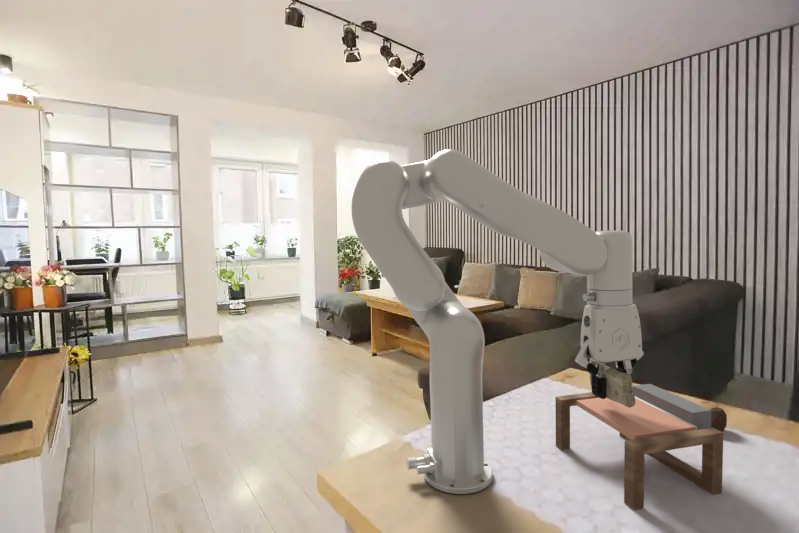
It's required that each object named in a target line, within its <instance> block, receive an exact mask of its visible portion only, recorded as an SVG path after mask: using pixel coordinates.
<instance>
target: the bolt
mask: <svg viewBox="0 0 799 533" xmlns="http://www.w3.org/2000/svg"><path fill="white" fill-rule="evenodd" d="M710 410H711V428H712V427H713V428H715V429H717V430H719V431H721V432H723V433H724V430H725V429H726V428H727V422H728V417H727V412H726V411H725V410H724V409H723V408H721V407H717V406H715V407H712V408H710Z"/></svg>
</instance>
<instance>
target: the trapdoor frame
mask: <svg viewBox="0 0 799 533" xmlns="http://www.w3.org/2000/svg"><path fill="white" fill-rule="evenodd" d="M592 398H599V397H597V396H595V395H593V394H592V391H591V392H582V393H574V394H566V395H559V396H558V395H557V396H555V447H556V448H558V449H559V450H560V451H567V450H571V407H575V406H577V405H576V400H584V399H592ZM621 437H622V438H621ZM619 438H621V439H623V440H624V455H623V456H624V457H623V458H624V459H623V460H624V464H623V466H624V470H623V471H624V472H623V473H624V474H623V475H624V476H623V478H624V479H623V482H624V485H623V490H624V491H623V494H624V495H623V503H624V504H625V505H626V506H627V507H628V508H629V509H631V510H632V511H637V510H642V509H644V508H645V455H648V456H650V457H652V458H653V459H655V461H658V462H659V463H661V464H662V465H664V466H665V467H667V468H668V469H670V470H671V471H673V472H675V473H677V474H678V475H679V476H681V477H683V478H684V479H686V480H688V482H691V483H692V482H693V483H692V484H694V485H695V486H696V487H698V488H700V489H702V490H704V491H705V492H706V491H707V493H708V492H709V493H710V494H709V493H708V494H709V495H711V494H712V495H711V496H714V495H713V494H715V495H719V494H720V493H721V494H723V470H724V469H723V463H724V459H723V458H724V431H723V432H721V431H719V430H717V429H715V428H713V427H712V428H706V429H699V430H693V431H686V432H680V433H673V434H667V435H660V436H654V437H647V438H640V439H634V440H631V439H630V438H628V437H627V436H625V435H623V434H622V433H620V432H619ZM697 446H701V447H702V448H701V449H702V450H701V451H702V452H701V453H702V454H701V471H700V470H698V469H697V468H695V467H694V466H691V465H690V464H688V463H686V462H685V461H683V460H682V459H680V458H679V457H677V456H675V455H673V454H671V453H670V452H668V451H672V450H679V449H684V448H690V447H697Z"/></svg>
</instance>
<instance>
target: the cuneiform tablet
mask: <svg viewBox="0 0 799 533" xmlns="http://www.w3.org/2000/svg"><path fill="white" fill-rule="evenodd" d="M597 364H598V363H597ZM597 364H596V368H597ZM603 377H605V378H606V398H608V399H610V400H612V401H615V402H618V403H620V404H622V405H624V406H626V407H629V408H630V407H633V406H634V405H635V396H634V390H633V386H634V385H633V382H632V376H631V374H626V373H622V372H620V371H617V369H615V368H612V367H610V366H608V365H605V368H604V374H603ZM589 381H590V382H589V383H590V384H591V374H589Z"/></svg>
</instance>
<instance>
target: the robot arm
mask: <svg viewBox="0 0 799 533" xmlns="http://www.w3.org/2000/svg"><path fill="white" fill-rule="evenodd" d="M441 202H446V203H448V204H450V205H451V206H453V207H455V208H456V209H457V210H459V211H461V212H462V213H464V214H466V215H467V216H469V217H470V218H471V219H473V220H474V221H476V222H478V223H479V224H480V225H483V227H485V228H486V229H488V230H490V231H492V232H494V233H497V234H498V235H500V236H503V237H507V238H510V239H514V240H516V241H520V242H521V243H525V244H527V245H529V246H531V247H533V248H534V249H536V250H538V251H539V256H540V259H541V261H542V262H543V263H544V265H545V266H546V267H548V268H549V269H551V270H553V271H557V272H560V273H565V274H571V275H575V276H581V277H582V276H583V277H584V276H586V293H583V294H582V300H583V301H584V302H586V303H587V304H586V305H584V308H583V314H582V318H581V320H582V321H581V326H580V327H581V328H580V350H579V351H578V353H577V355H576V357H575V359H574V362H575V363H577V364H578V365H580V366H581V367H583V368H584V369H585V370H586V371H587V372H588V374H589V375H590V374H591V383H590V388H591V392H592V394H593V395H595V396H597V397H599V398H601V399H606V378H605V377H603V374H604V368H605V366H606V364H607V363H609V364H610V363H615V368H616V370H617V371H620V372H622V373H626V374H629V375H631V374H632V373H633V368H634V366H635V365H636V364H637V361H639V360H640V359H641V358H642V357H643V356H645V355H644V354H645V352H644V350H643V340H642V328H641V320H640V316H639V315H640V314H639V310H638V307H637V304H634V303H633V237H632V235H631V233H630V232H628V231H626V230H622V229H621V230H620V229H619V230H616V229H615V230H613V229H612V230H596V231H595V230H593V229H591V228H590V227H589V226H587V225H585V224H584V223H582V222H581V221H580V220H578V219H576V218H574V217H573V216H572V215H570V214H568V213H567V212H565V211H563V210H561V209H559V208H558V207H555V206H553V205H551V204H550V203H547V202H545V201H543V200H541V199H539V198H537V197H535V196H533V195H531V194H529V193H527V192H524V191H522V190H520V189H518V188H517V187H515V186H513V185H512V184H510V183H509V182H507V180H504V179H503V178H501V177H499V175H497V174H495V173H494V172H492V171H491V170H489V169H487V168H486V167H484V166H483V165H482V164H480V163H479V162H477V161H475V160H474V159H472V158H471V157H470V156H468V155H466V154H465V153H463V152H461V151H459V150H457V149H453V148H450V149H449V148H448V149H443V150H441V151H440V150H439V152H437V153H435V154H434V155H432V157H431V158H429V159H428V160H423V161H419V162H418V161H417V162H414V163H407V164H402V165H400V164H399V163H398V162H396V161H395V160H392V159H386V158H384V159H383V158H382V159H378V160H375V161H372V162H371V163H370V164H369V165H367V166H366V167H365V169H364V170H363V171H362V173H361V174H360V176H359V178H358V180H357V183H356V185H355V187H354V190H353V195H352V199H351V219H352V223H353V224H352V225H353V228H354V231H355V234H356V236H357V238H358V240H359V242H360V243H361V245H362V247H363V248H364V250H365V252H366V253H367V254H368V256H369V257H370V259H371V261H373V263H374V265H375V266H376V267H377V269H378V271H379V272H380V273H381V274H382V276H383V277H384V279H385V280H386V281H387V283H388V284H389V286H390V288H391V289H392V291H393V293H394V295H395V297H396V298H397V300H398V301H399V302H400V303H401V304H402V305H403V306H404V307H405V309H406V310H407V311H408V313H409V314H410V315H411V317H412V318H413V319H414V320H415V322H416V324H418V326H419V327H420V329H421V330H422V331H423V333H424V334H425V336H426V338H427V340H428V342H429V398H430V399H429V400H430V402H429V403H430V427H431V428H430V434H431V435H430V436H431V439H430V440H431V447H427V449H426V451H427V453H425V454H422V456H418V457H416V456H415V457H407V458H406V460H405V461H406V467H407V470H415V469H416V474H417V475H423V476H424V478H425V480H426V482H427V483H428V484H429V485H430V486H431V487H433V488H435V489H436V490H439V491H441V492H444V493H447V494H453V495H468V494H474V493H478V492H480V491H482V490H484V489H486V488H487V487H489V486H490V485H491V483H492V481H493V477H494V475H493V474H494V472H493V468H492V466H491V464H490V463H489V462H487V461H486V460H485V455H484V454H485V453H484V452H485V448H484V447H485V446H484V443H485V442H484V406H483V405H484V404H483V402H484V398H483V394H484V393H483V366H484V364H483V363H484V355H485V344H486V343H485V342H486V341H485V340H486V339H485V333H484V328H483V326H482V323H481V322H480V320H479V318H478V317H477V316H476V314H475V313H473V312H472V311H471V310H470V309H468V307H465V305H464V304H462V302H461V301H460V300H459V299H458V297H457V296H456V294H455V292H454V291H453V290H452V289H451V288H450V286H449V284H447V282H446V280H445V276H444V273H443V271H442V270H441V269H440V267H439V266H438V265H437V264H436V263H435V262H434V261H433V260H432V259H431V257H430V256H429V255H428V253H427V252H426V251H425V250H424V248H423V247H422V245H421V244H420V242H419V241H418V240H417V238H416V236H415V235H414V233H413V232H412V231H411V229H410V227H409V226H408V225H407V223H406V221H405V219H404V218H405V217H404V215H403V210H406V209H412V208H418V207H422V206H427V205H428V206H429V205H433V204H437V203H441ZM588 358H589V361H588ZM597 363H598V364H597ZM596 364H597V368H596Z"/></svg>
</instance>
